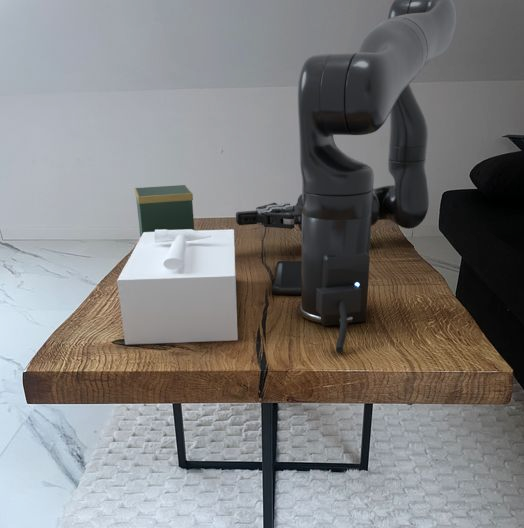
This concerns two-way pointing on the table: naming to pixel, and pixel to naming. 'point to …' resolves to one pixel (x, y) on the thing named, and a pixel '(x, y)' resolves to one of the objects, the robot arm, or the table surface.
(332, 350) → the table surface
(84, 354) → the table surface
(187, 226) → the tea tin
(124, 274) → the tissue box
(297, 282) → the phone
